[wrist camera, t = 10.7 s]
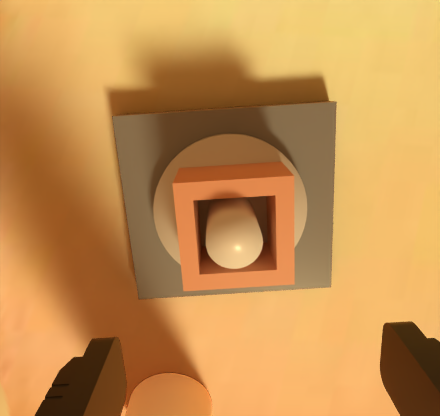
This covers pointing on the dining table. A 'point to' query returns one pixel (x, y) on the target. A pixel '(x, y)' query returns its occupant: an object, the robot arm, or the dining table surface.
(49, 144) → the dining table surface
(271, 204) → the collar
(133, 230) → the post plate
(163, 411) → the cylindrical container
